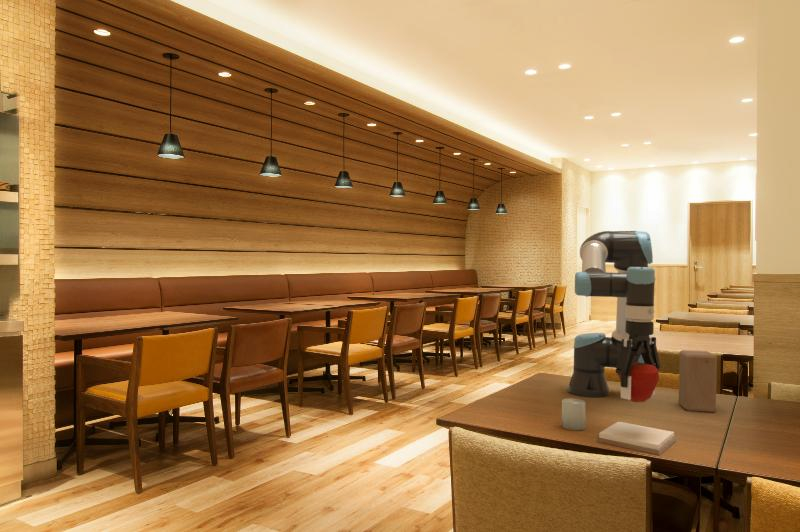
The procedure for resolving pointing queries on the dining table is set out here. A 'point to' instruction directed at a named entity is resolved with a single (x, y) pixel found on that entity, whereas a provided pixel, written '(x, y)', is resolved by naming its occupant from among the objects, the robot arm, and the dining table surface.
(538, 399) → the dining table surface
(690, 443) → the dining table surface
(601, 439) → the stand
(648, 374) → the apple
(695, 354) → the wooden block
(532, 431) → the dining table surface
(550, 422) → the dining table surface
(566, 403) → the white pillar candle
